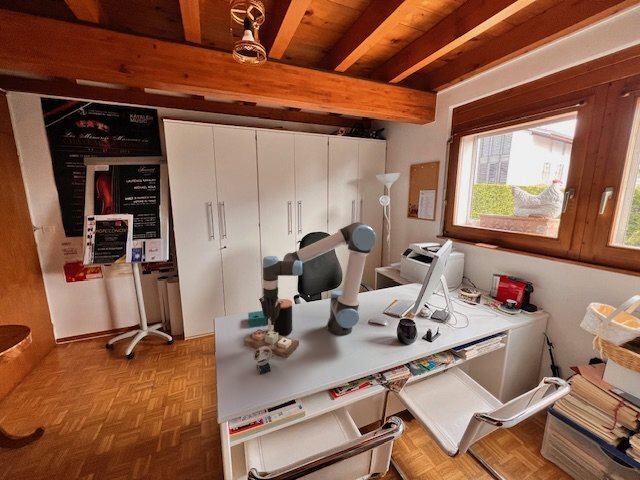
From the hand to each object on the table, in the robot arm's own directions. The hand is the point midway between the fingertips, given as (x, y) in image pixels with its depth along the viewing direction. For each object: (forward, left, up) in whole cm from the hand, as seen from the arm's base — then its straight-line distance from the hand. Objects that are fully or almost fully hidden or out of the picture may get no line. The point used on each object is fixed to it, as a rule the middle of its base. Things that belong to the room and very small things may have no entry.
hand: (270, 329), depth 136 cm
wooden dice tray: (0, 0, -9) cm, 9 cm away
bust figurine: (-8, +17, -9) cm, 21 cm away
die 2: (0, 0, -7) cm, 7 cm away
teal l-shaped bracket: (+19, -19, -10) cm, 28 cm away
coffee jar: (+2, -14, -9) cm, 17 cm away
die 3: (-8, 0, -8) cm, 12 cm away
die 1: (+8, 0, -8) cm, 11 cm away
